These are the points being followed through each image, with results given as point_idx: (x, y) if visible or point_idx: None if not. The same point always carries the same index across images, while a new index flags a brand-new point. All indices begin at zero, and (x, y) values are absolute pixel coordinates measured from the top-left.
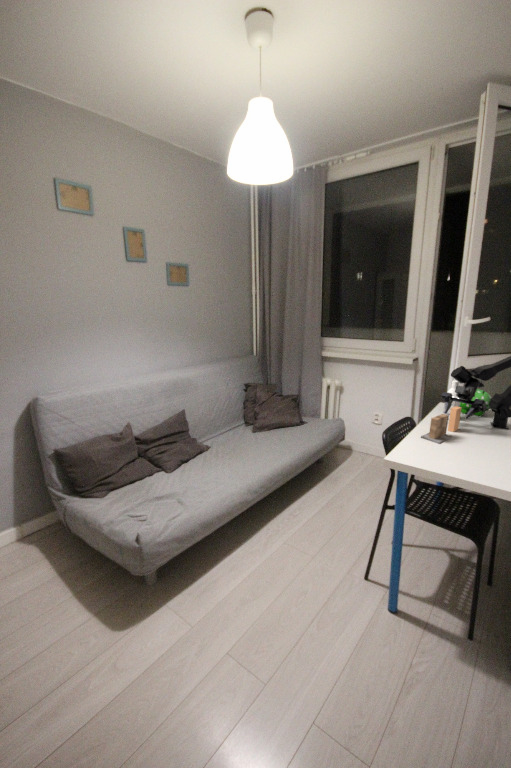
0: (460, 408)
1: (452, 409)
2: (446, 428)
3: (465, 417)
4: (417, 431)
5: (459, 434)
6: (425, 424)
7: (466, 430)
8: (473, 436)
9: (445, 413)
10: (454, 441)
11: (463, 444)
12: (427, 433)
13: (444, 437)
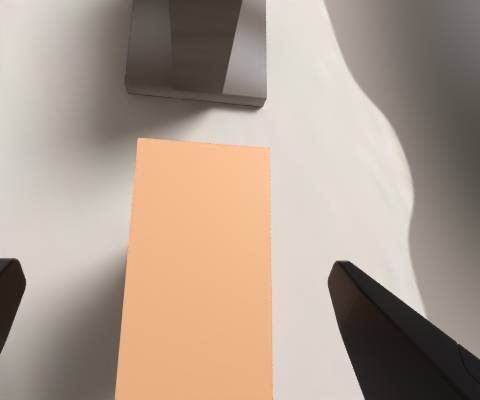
0: (120, 361)
1: (231, 156)
2: (172, 52)
3: (13, 259)
4: (336, 52)
5: (114, 225)
6: (387, 229)
7: (106, 393)
8: None
9: (332, 275)
10: (88, 49)
11: (16, 38)
12: (265, 13)
13: (152, 19)
